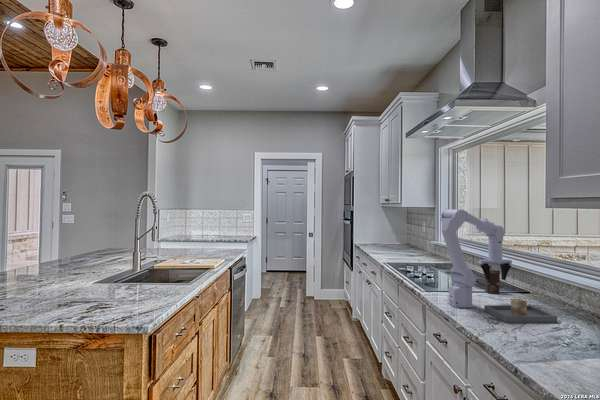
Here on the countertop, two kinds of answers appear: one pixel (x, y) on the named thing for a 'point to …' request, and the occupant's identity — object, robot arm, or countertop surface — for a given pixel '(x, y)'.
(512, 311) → the maple block
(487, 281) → the box
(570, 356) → the countertop surface
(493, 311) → the tray
